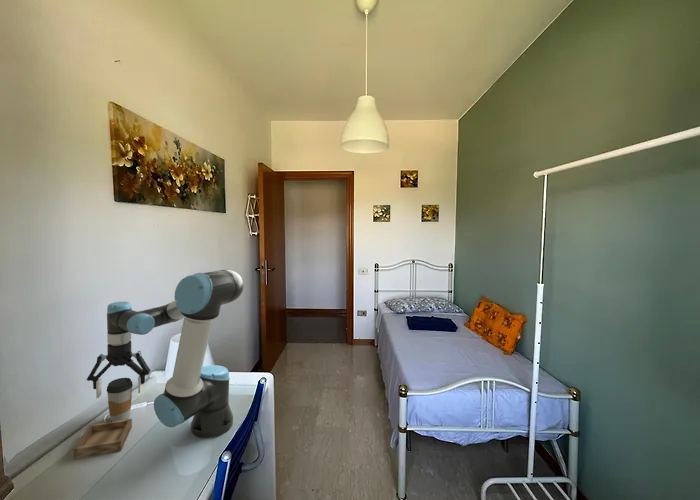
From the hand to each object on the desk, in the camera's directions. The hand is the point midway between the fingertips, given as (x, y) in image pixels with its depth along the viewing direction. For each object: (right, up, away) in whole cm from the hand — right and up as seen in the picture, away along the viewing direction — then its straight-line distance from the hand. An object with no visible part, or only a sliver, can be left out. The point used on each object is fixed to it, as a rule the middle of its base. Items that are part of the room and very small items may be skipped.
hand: (119, 393), depth 124 cm
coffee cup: (0, -10, +1) cm, 10 cm away
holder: (+4, -11, -13) cm, 17 cm away
